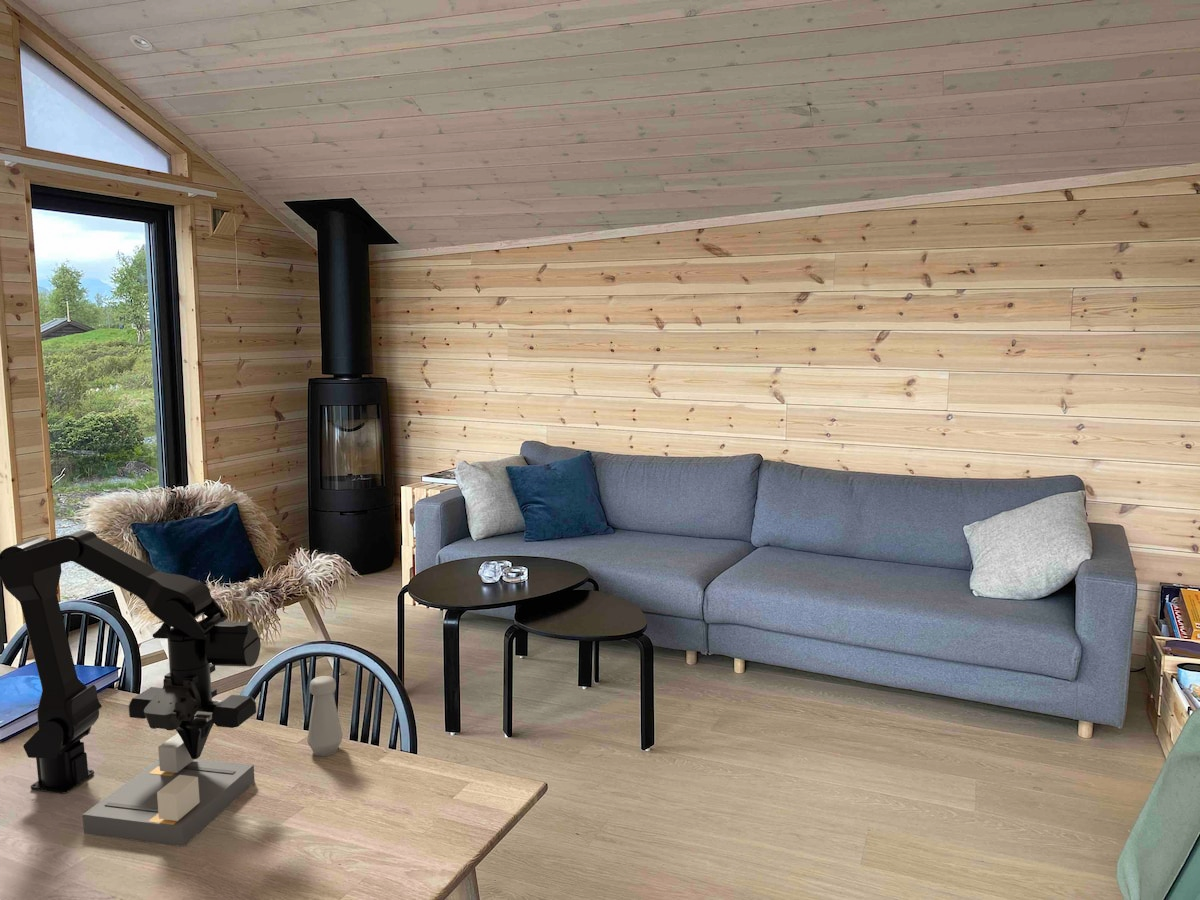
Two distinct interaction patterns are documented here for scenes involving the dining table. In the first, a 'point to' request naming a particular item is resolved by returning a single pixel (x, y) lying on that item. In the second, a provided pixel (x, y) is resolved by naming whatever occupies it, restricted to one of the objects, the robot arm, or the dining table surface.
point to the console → (137, 803)
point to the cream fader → (178, 797)
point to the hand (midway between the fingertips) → (195, 757)
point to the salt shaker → (324, 718)
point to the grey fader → (173, 755)
